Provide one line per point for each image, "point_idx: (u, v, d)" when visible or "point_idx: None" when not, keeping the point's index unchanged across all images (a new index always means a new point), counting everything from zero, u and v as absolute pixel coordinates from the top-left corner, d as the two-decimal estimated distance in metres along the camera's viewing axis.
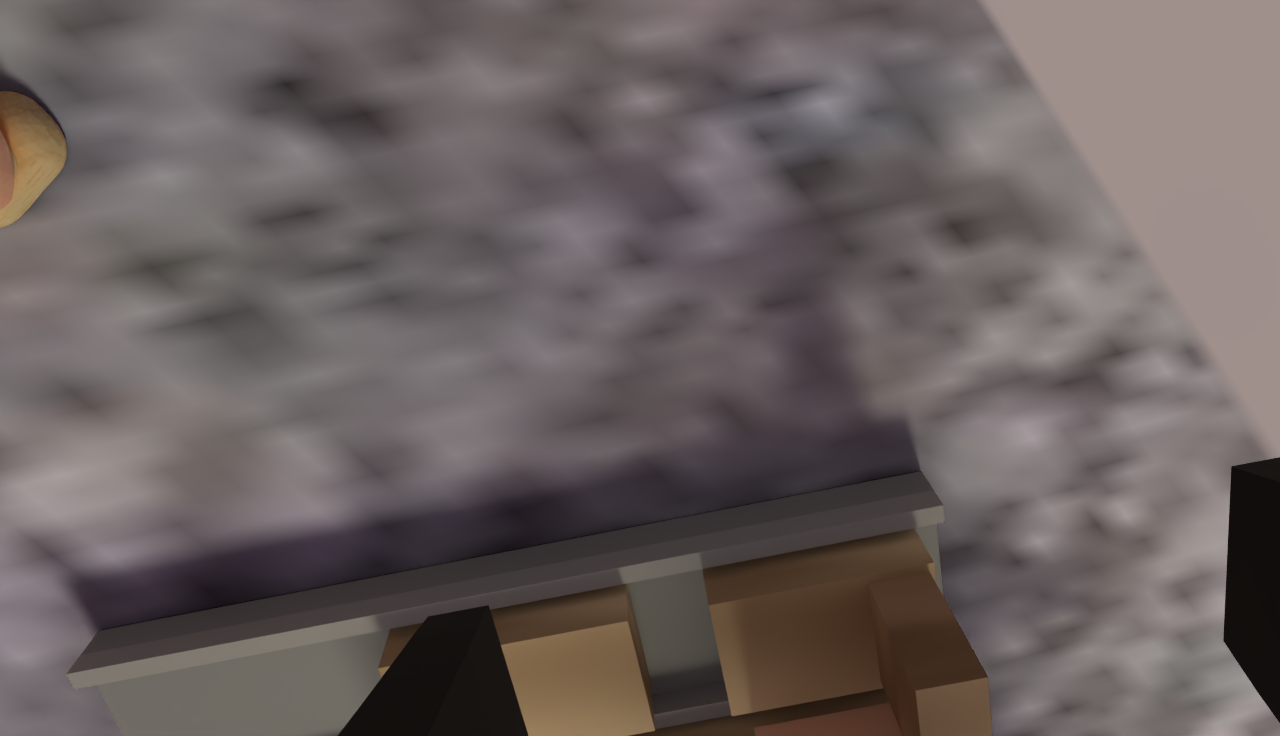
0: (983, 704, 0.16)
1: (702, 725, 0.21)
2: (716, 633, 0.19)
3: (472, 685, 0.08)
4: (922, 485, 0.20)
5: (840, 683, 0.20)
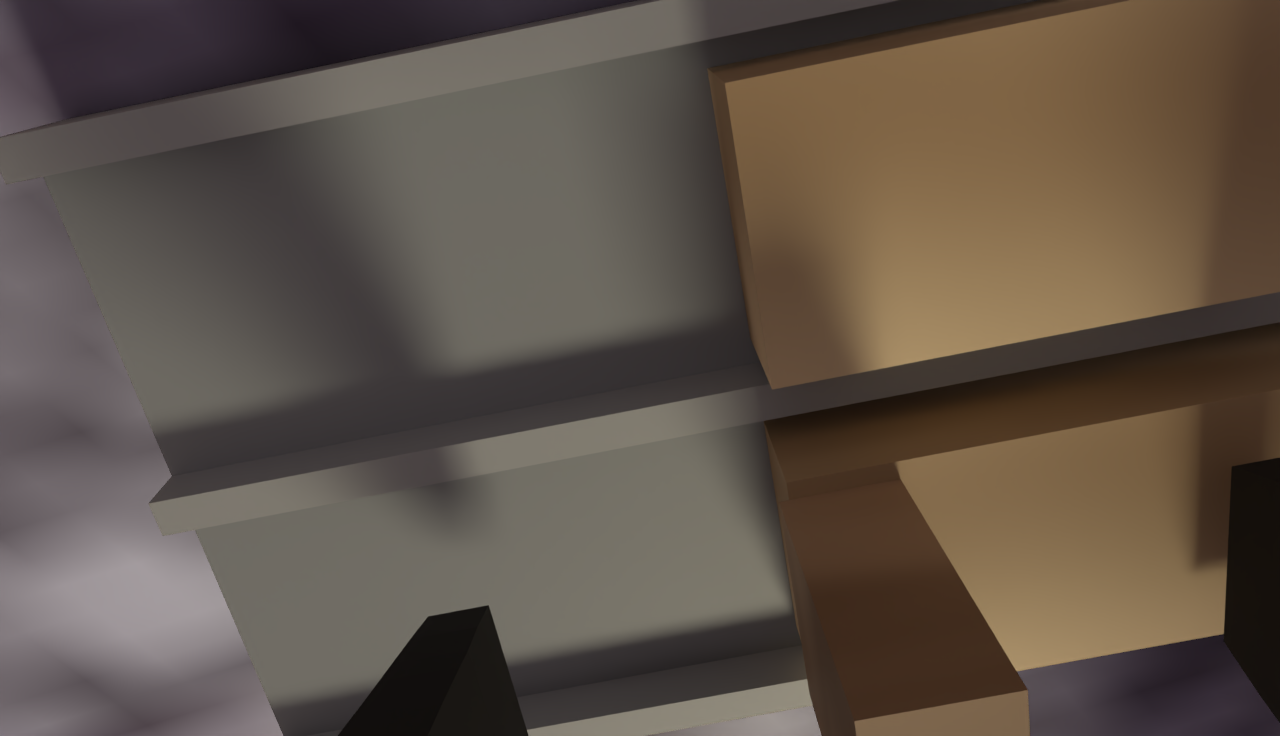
0: None
1: None
2: None
3: (472, 685, 0.08)
4: None
5: None
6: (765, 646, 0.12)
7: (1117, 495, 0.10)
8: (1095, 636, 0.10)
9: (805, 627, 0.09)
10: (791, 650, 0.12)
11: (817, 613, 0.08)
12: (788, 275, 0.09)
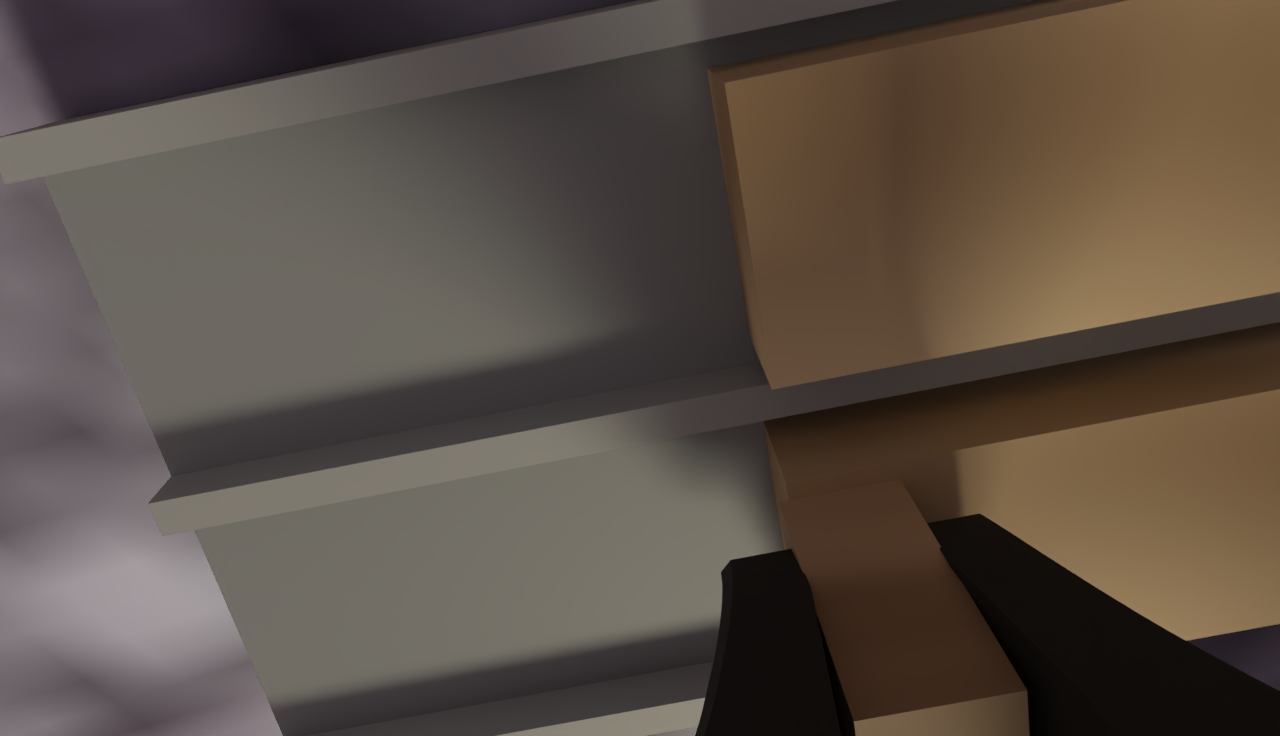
0: None
1: None
2: None
3: None
4: None
5: None
6: None
7: (1117, 495, 0.10)
8: None
9: None
10: None
11: (817, 613, 0.08)
12: (788, 275, 0.09)
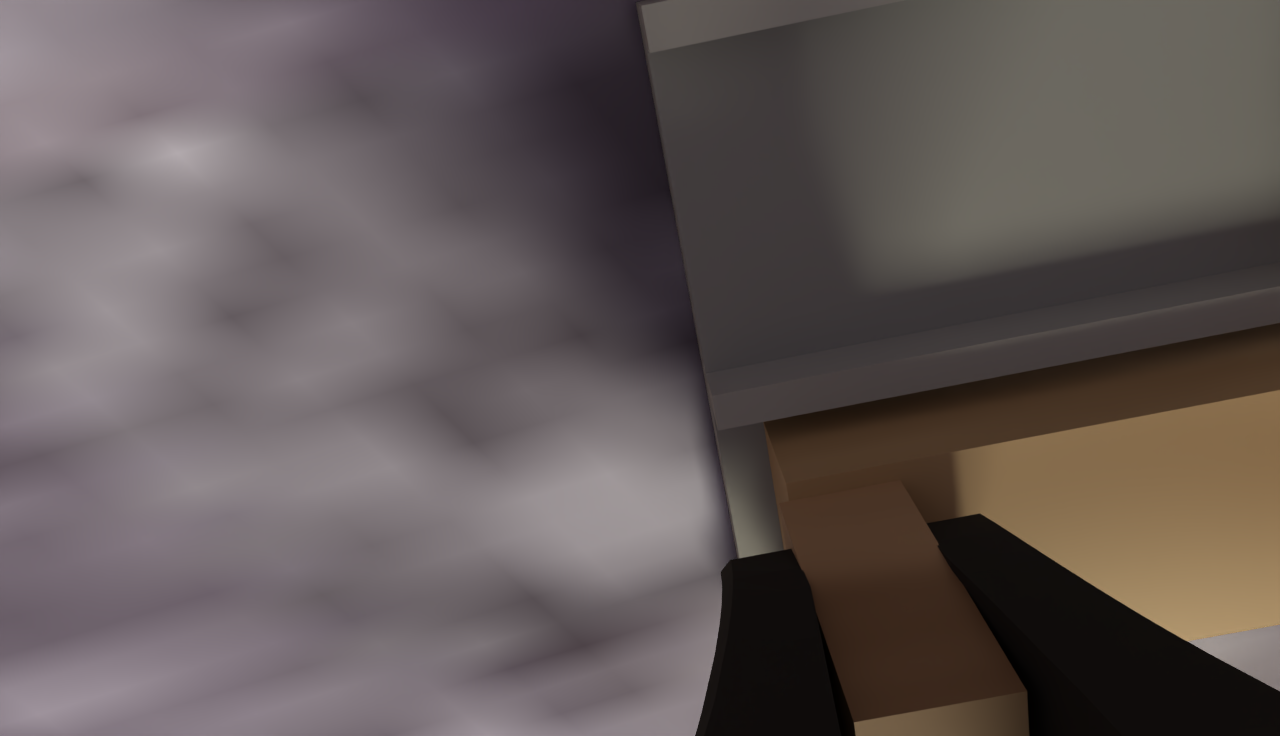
0: None
1: None
2: None
3: None
4: None
5: None
6: None
7: (1117, 495, 0.10)
8: None
9: None
10: None
11: (817, 614, 0.08)
12: None
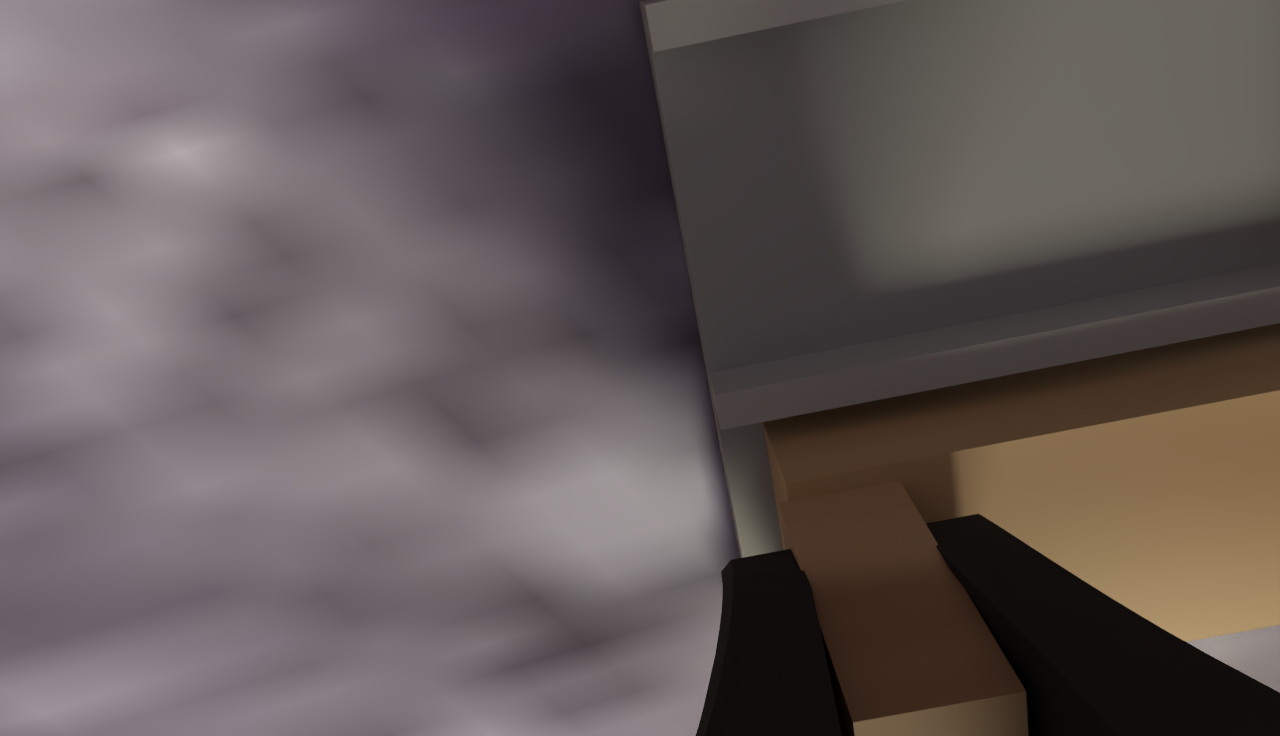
0: None
1: None
2: None
3: None
4: None
5: None
6: None
7: (1116, 496, 0.10)
8: None
9: None
10: None
11: None
12: None
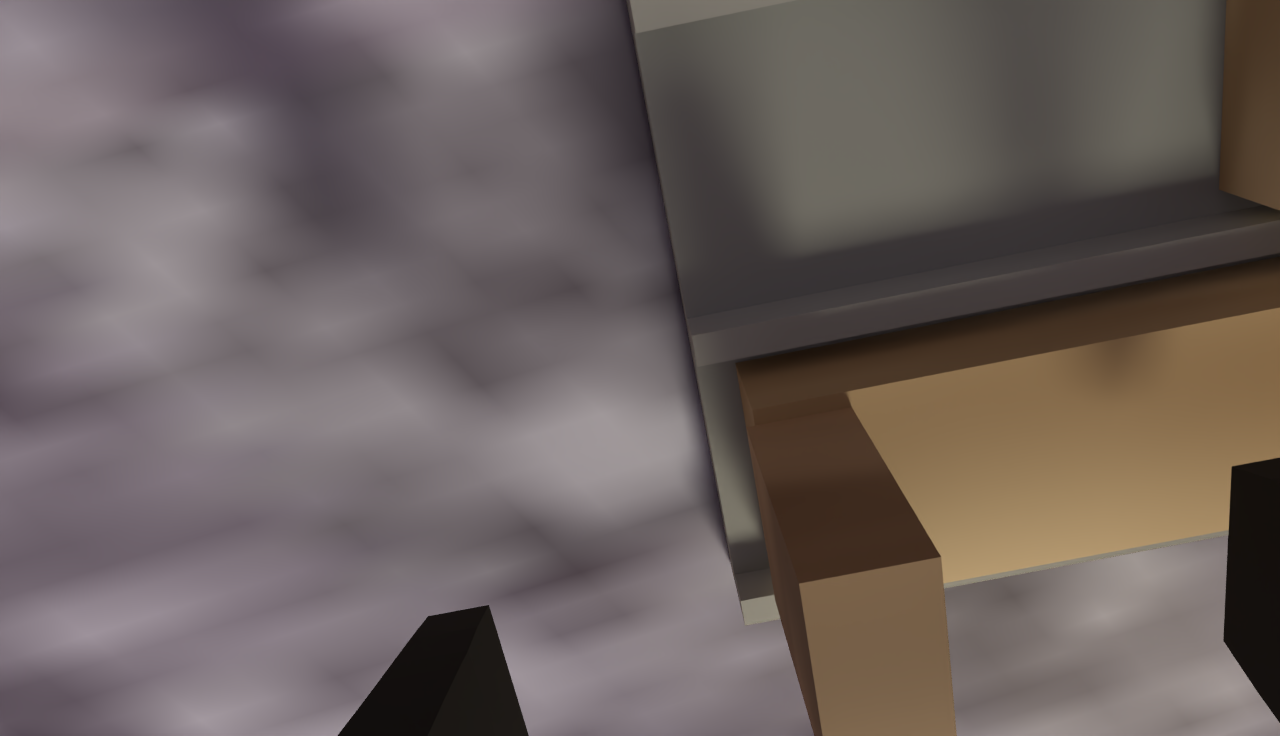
0: None
1: (1230, 280, 0.11)
2: None
3: (471, 687, 0.08)
4: None
5: None
6: None
7: (1040, 421, 0.11)
8: (1024, 548, 0.12)
9: (768, 534, 0.11)
10: None
11: (774, 509, 0.09)
12: None
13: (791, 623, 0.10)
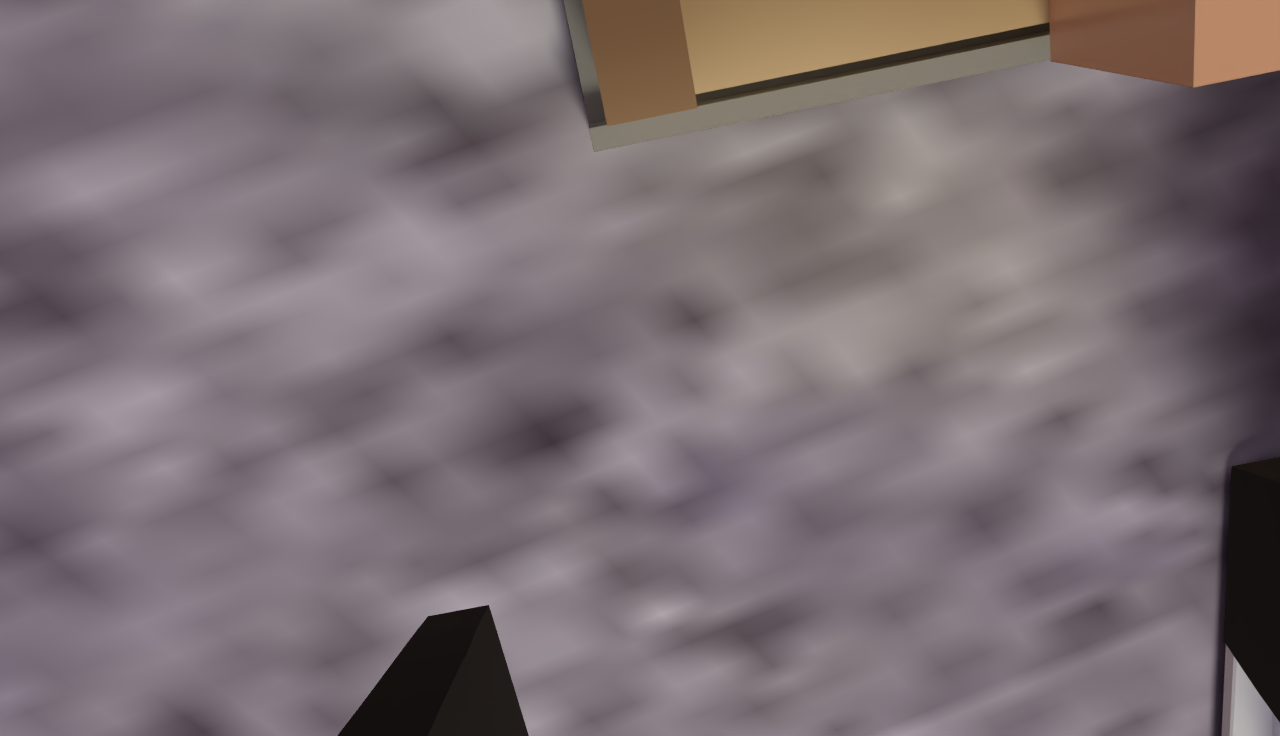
0: None
1: None
2: None
3: (472, 685, 0.08)
4: None
5: None
6: (934, 46, 0.17)
7: None
8: (794, 56, 0.15)
9: None
10: (952, 52, 0.17)
11: None
12: None
13: None
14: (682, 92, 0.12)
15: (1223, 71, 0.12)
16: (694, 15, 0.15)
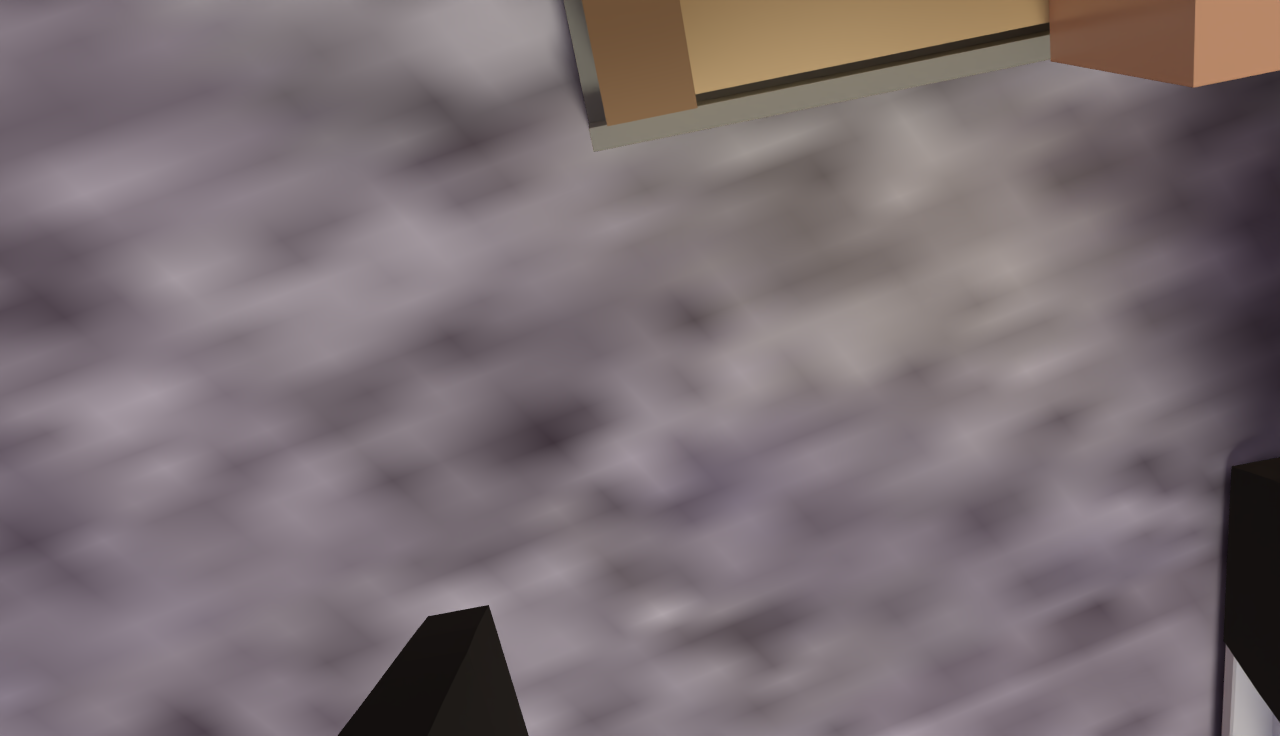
0: None
1: None
2: None
3: (472, 685, 0.08)
4: None
5: None
6: (934, 46, 0.17)
7: None
8: (794, 56, 0.15)
9: None
10: (952, 52, 0.17)
11: None
12: None
13: None
14: (682, 92, 0.12)
15: (1223, 71, 0.12)
16: (694, 15, 0.15)
